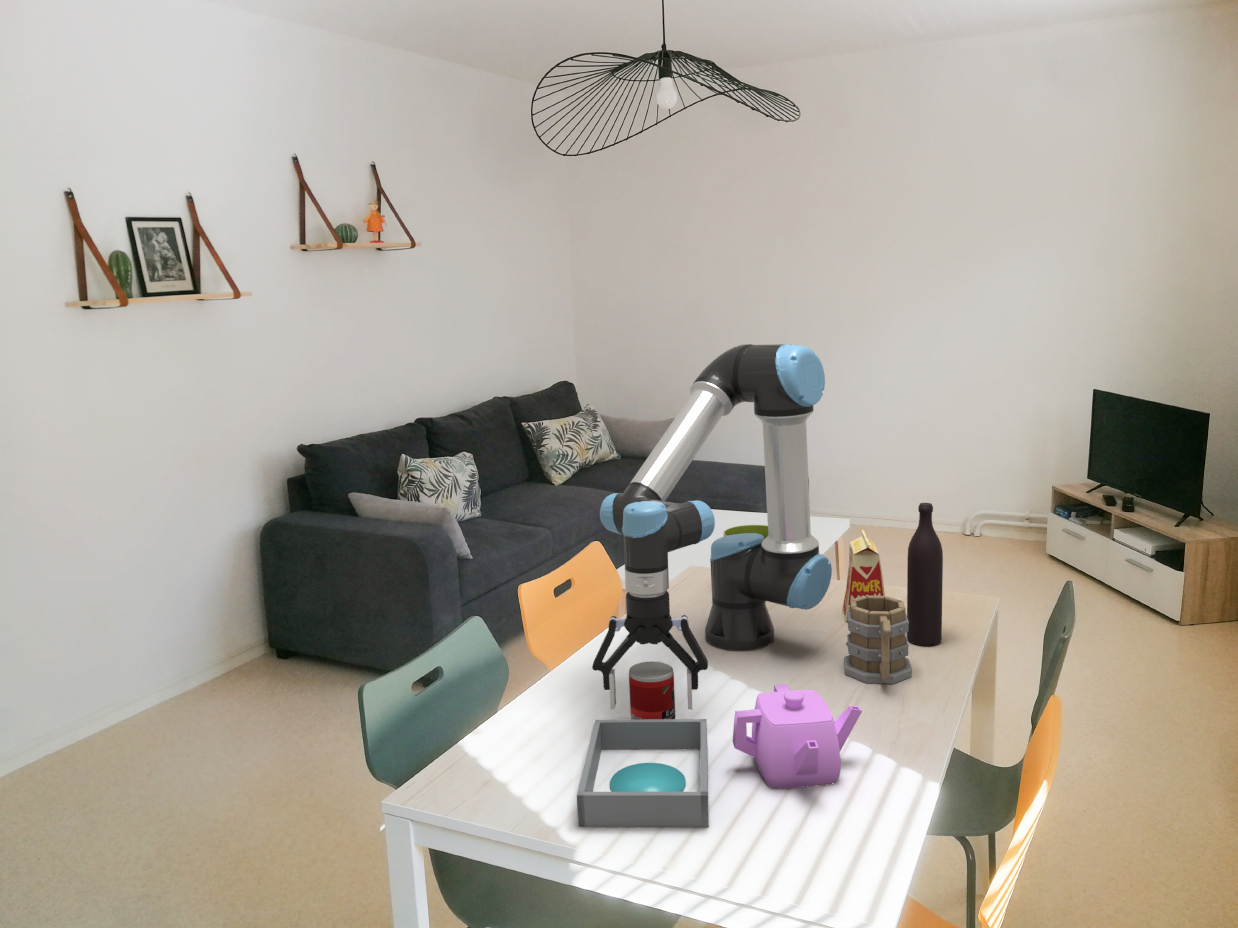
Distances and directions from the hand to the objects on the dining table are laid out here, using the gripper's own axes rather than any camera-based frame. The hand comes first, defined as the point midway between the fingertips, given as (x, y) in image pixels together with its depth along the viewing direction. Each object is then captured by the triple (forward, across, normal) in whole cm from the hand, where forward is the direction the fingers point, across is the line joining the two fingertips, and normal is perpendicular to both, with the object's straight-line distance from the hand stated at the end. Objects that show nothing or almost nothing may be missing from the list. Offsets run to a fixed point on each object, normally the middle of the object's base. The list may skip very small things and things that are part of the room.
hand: (651, 706), depth 165 cm
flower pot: (+4, +22, +72) cm, 76 cm away
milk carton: (+4, +46, +54) cm, 71 cm away
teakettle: (+4, +24, -14) cm, 28 cm away
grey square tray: (+4, 0, -19) cm, 19 cm away
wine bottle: (+4, +56, +39) cm, 69 cm away
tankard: (+4, +43, +20) cm, 48 cm away
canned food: (+4, 0, 0) cm, 4 cm away
